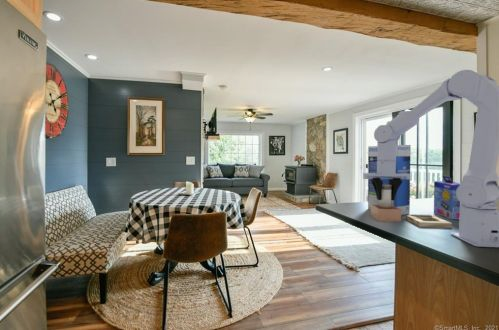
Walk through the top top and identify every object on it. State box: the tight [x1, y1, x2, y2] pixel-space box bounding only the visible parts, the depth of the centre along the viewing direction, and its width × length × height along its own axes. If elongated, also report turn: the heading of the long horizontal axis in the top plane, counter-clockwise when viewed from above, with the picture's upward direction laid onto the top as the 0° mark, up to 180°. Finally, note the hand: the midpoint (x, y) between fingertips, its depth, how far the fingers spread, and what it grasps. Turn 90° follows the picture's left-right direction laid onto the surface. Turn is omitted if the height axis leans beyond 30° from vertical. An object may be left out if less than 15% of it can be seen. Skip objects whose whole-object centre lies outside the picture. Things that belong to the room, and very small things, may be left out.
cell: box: [379, 184, 392, 208], centre depth 87 cm, size 4×4×8 cm
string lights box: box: [367, 144, 412, 216], centre depth 97 cm, size 13×8×26 cm, turn 22°
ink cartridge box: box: [433, 175, 462, 220], centre depth 90 cm, size 10×6×14 cm, turn 174°
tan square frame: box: [405, 213, 453, 229], centre depth 81 cm, size 9×9×2 cm
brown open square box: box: [370, 205, 402, 223], centre depth 87 cm, size 7×7×4 cm
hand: (385, 199), depth 87 cm, fingers closed on cell, 4 cm apart
